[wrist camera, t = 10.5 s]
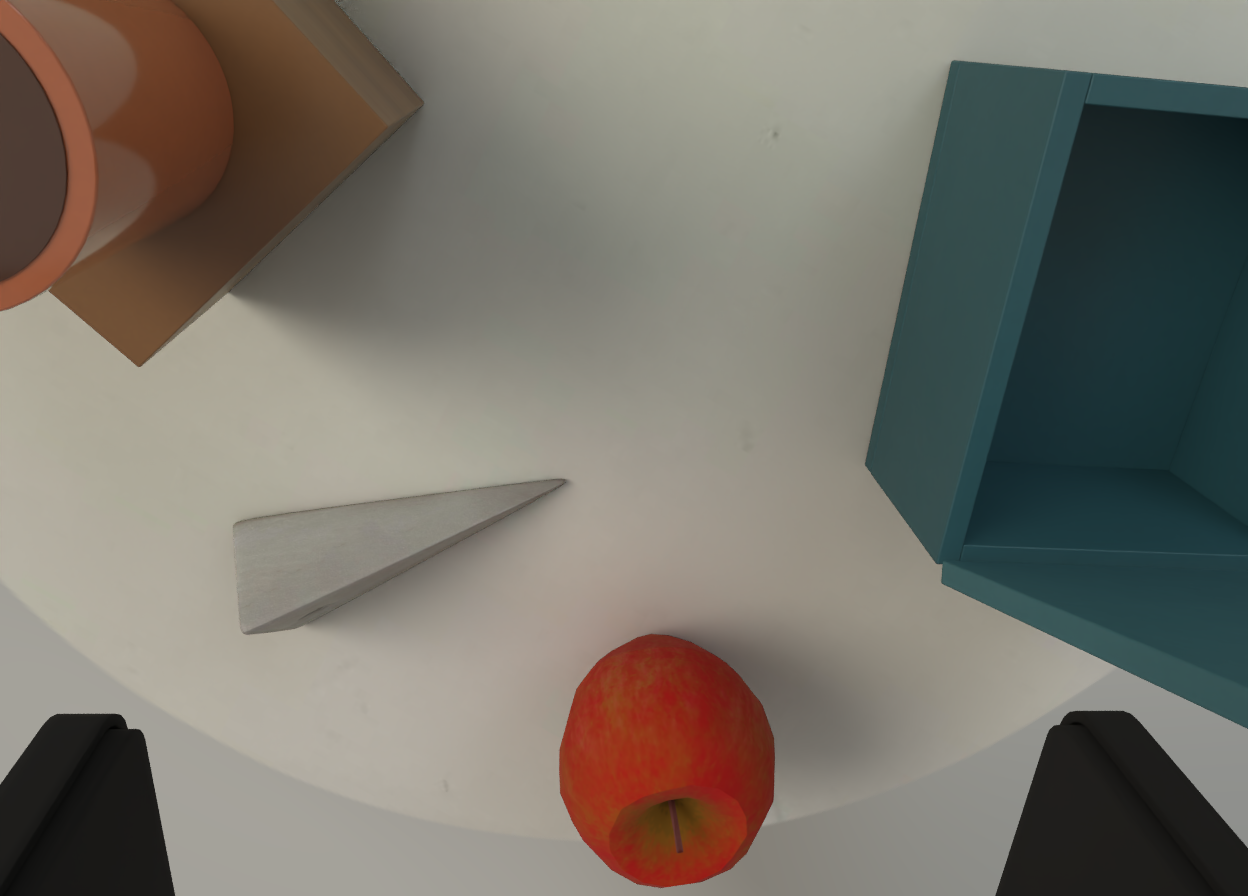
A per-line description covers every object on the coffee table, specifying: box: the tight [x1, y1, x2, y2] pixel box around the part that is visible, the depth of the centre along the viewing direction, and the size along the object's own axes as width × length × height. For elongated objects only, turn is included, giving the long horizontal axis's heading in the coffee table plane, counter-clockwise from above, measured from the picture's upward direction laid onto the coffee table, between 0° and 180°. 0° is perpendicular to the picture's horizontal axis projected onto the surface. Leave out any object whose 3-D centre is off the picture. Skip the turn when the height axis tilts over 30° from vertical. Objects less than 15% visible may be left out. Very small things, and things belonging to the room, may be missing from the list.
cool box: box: [865, 60, 1248, 571], centre depth 32 cm, size 16×14×8 cm
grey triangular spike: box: [233, 479, 565, 635], centre depth 37 cm, size 6×5×13 cm
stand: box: [48, 0, 424, 367], centre depth 27 cm, size 10×10×8 cm
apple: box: [559, 634, 775, 888], centre depth 37 cm, size 9×8×11 cm
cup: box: [0, 0, 234, 311], centre depth 20 cm, size 6×6×8 cm
